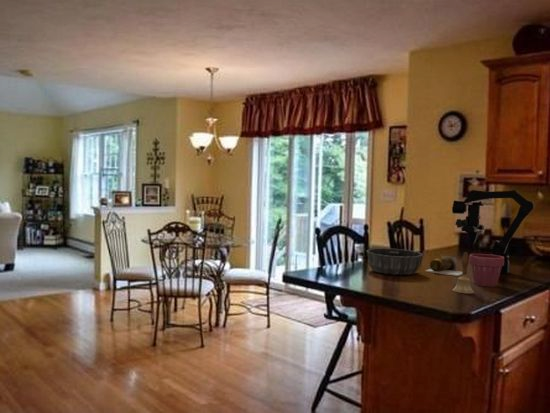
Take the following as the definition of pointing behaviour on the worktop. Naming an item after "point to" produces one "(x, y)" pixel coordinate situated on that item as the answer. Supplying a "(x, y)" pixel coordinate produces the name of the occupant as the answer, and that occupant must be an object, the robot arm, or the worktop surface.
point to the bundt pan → (394, 261)
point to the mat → (445, 272)
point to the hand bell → (464, 278)
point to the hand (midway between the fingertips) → (472, 244)
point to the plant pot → (486, 268)
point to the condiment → (444, 263)
